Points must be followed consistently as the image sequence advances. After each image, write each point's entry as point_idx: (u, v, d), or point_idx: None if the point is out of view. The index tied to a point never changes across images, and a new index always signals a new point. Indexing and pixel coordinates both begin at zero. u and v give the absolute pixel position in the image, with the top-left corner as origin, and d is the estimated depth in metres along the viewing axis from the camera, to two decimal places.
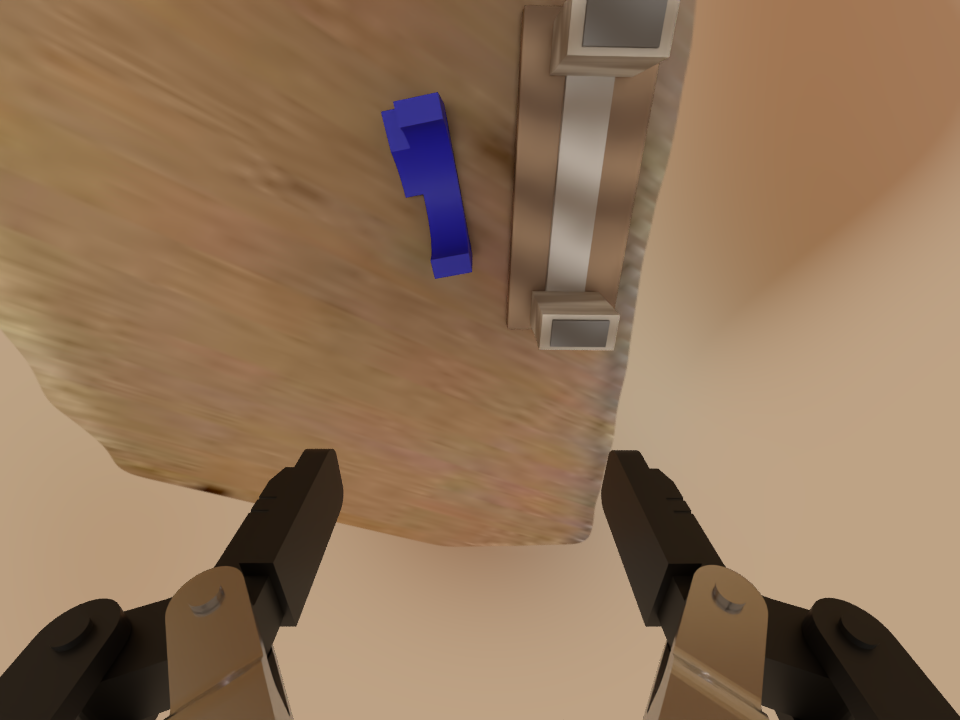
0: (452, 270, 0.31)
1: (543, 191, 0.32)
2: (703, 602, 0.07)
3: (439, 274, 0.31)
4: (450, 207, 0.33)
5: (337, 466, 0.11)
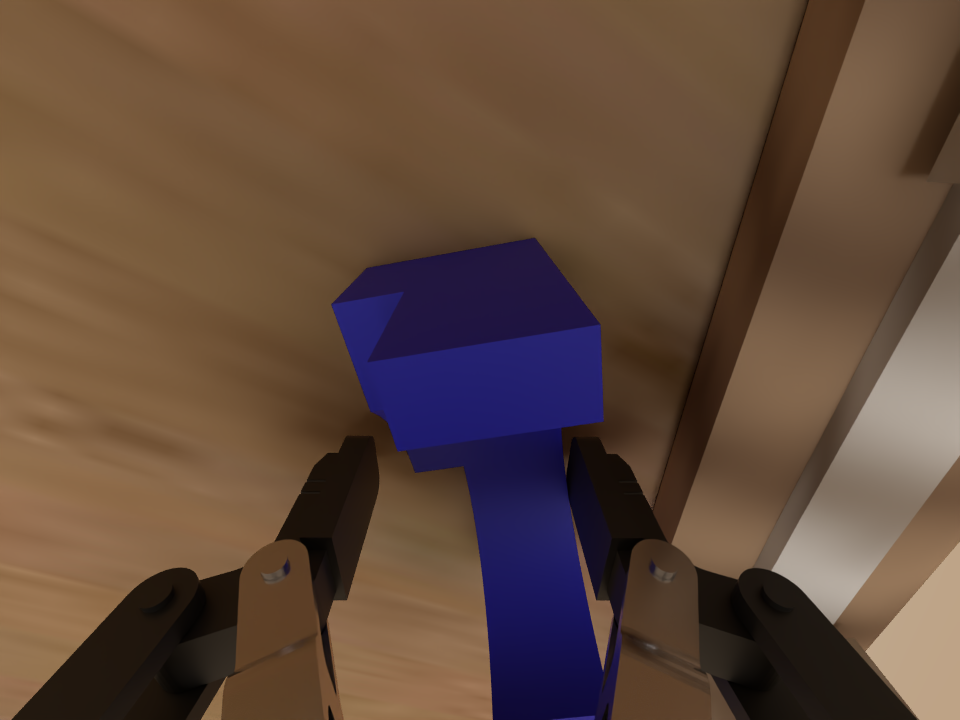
0: None
1: (777, 463, 0.12)
2: (642, 576, 0.07)
3: None
4: (535, 496, 0.12)
5: (375, 453, 0.12)
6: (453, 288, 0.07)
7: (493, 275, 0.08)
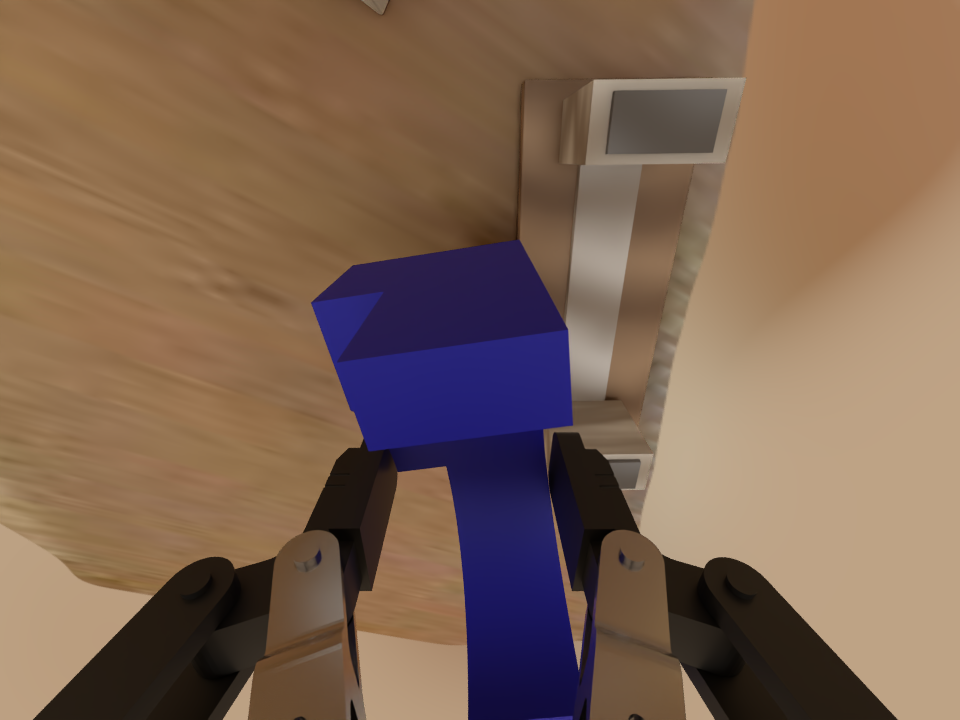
0: None
1: (552, 292, 0.26)
2: (613, 568, 0.08)
3: None
4: (517, 497, 0.12)
5: None
6: (433, 289, 0.07)
7: (473, 277, 0.08)
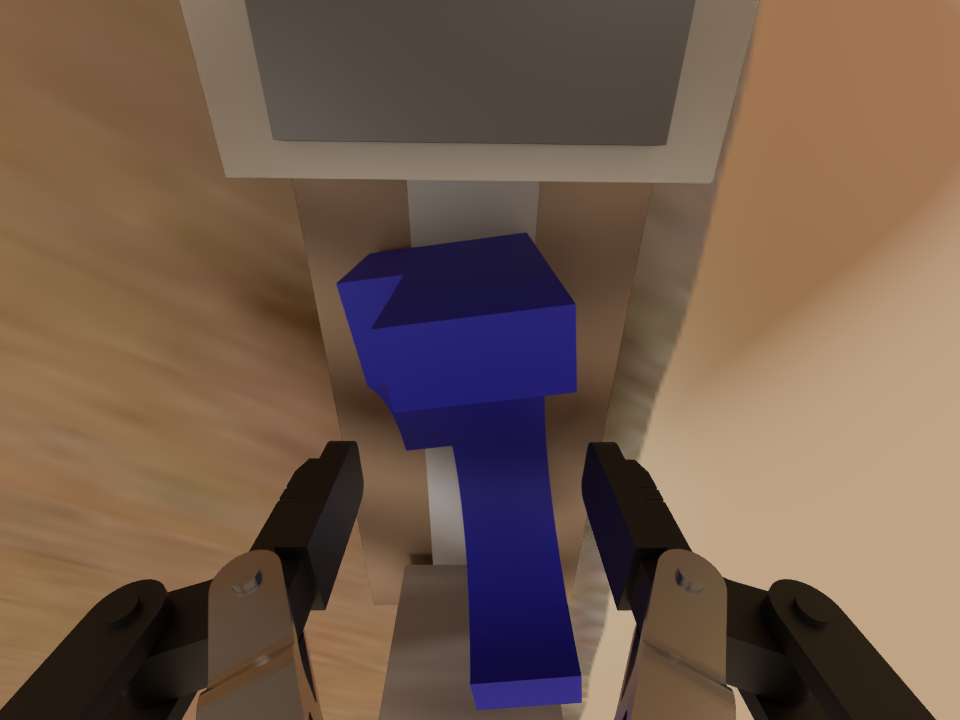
0: (528, 700, 0.11)
1: None
2: (668, 586, 0.07)
3: (491, 704, 0.11)
4: (518, 476, 0.13)
5: (358, 458, 0.12)
6: (449, 273, 0.08)
7: (486, 263, 0.08)
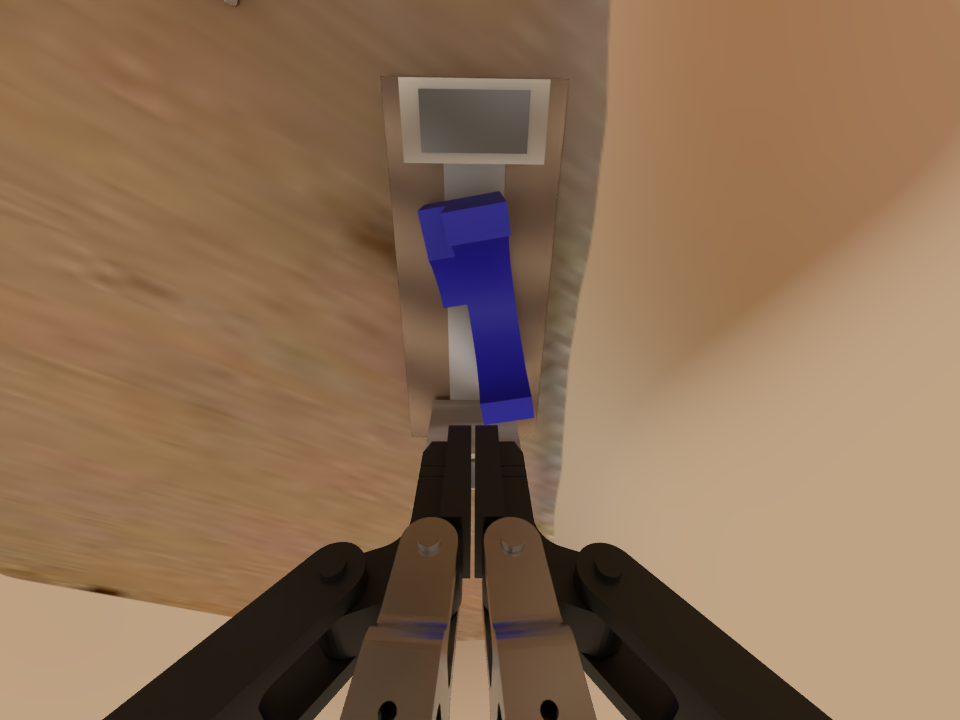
0: (508, 416, 0.23)
1: (434, 291, 0.26)
2: (498, 560, 0.08)
3: (490, 419, 0.23)
4: (502, 321, 0.25)
5: None
6: (464, 203, 0.20)
7: (479, 199, 0.20)
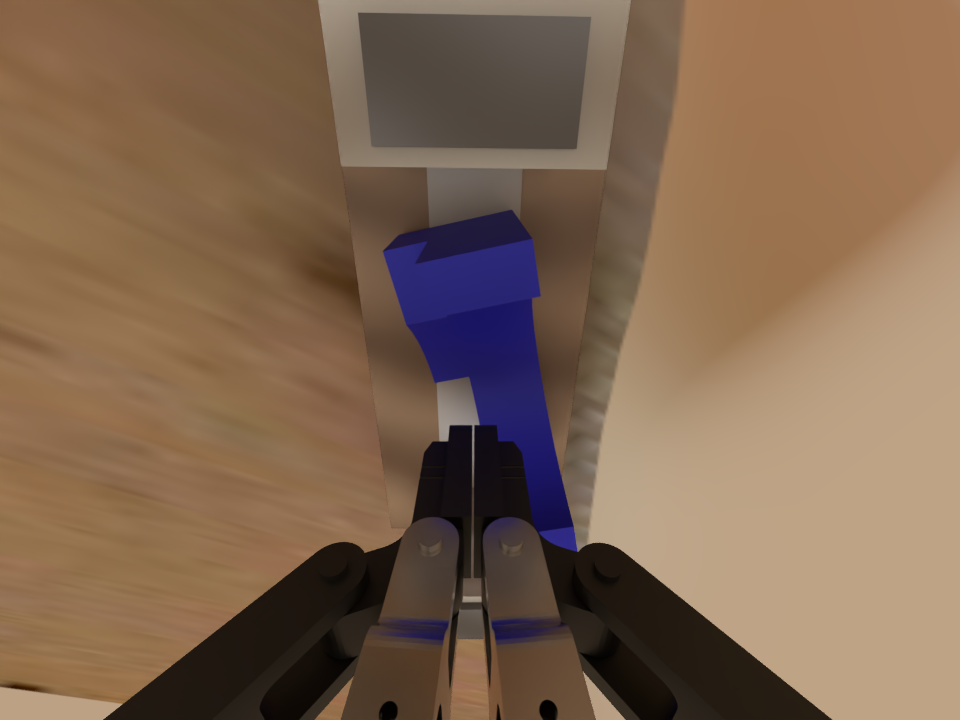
0: None
1: (417, 347, 0.18)
2: (497, 560, 0.08)
3: None
4: (521, 398, 0.17)
5: None
6: (458, 237, 0.12)
7: (482, 229, 0.12)
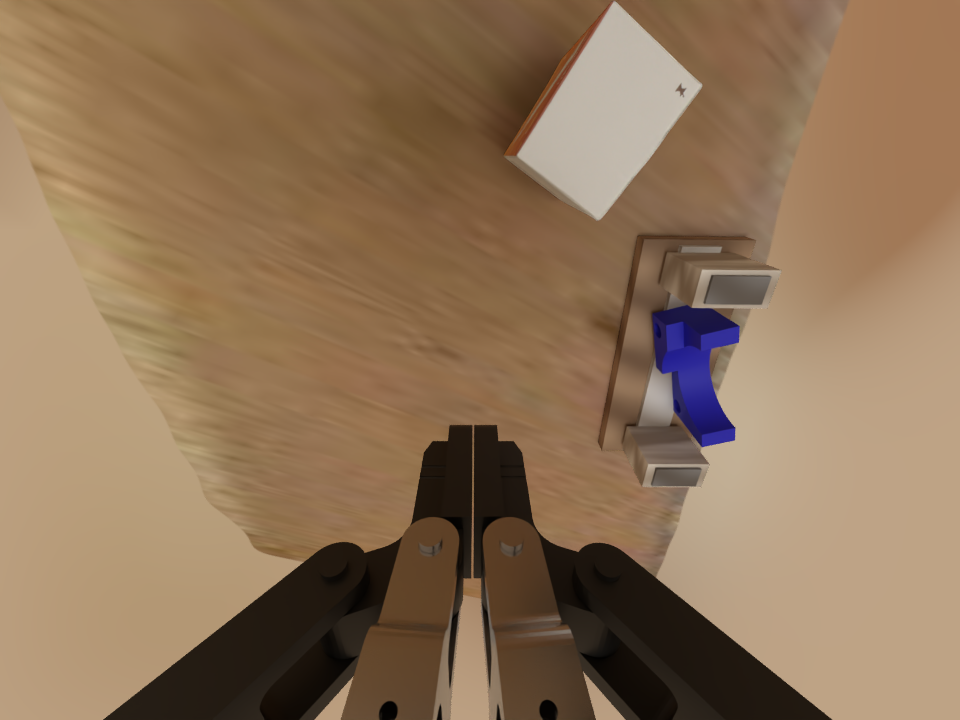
0: (718, 440, 0.37)
1: (643, 357, 0.40)
2: (497, 560, 0.08)
3: (706, 443, 0.37)
4: (700, 378, 0.38)
5: None
6: (697, 320, 0.34)
7: (703, 316, 0.34)
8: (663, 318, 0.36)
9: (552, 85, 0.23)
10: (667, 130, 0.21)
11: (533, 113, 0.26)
